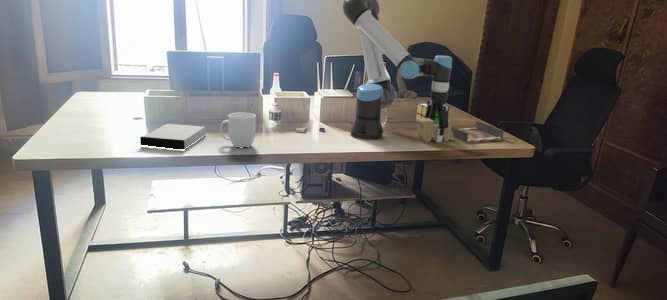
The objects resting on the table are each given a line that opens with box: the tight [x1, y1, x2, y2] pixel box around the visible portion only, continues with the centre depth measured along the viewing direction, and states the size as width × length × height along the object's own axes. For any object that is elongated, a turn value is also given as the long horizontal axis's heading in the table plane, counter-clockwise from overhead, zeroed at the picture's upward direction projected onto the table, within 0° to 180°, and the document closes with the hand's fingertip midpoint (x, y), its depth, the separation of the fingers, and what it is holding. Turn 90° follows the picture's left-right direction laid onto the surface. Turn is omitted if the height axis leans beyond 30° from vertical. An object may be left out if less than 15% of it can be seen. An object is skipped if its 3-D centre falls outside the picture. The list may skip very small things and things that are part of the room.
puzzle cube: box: [415, 103, 442, 123], centre depth 241 cm, size 10×10×10 cm
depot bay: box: [450, 120, 504, 145], centre depth 220 cm, size 22×18×5 cm
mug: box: [219, 111, 257, 148], centre depth 186 cm, size 15×11×13 cm
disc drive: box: [139, 123, 206, 149], centre depth 188 cm, size 18×22×5 cm
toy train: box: [416, 118, 454, 143], centre depth 211 cm, size 6×17×10 cm, turn 106°
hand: (433, 139), depth 212 cm, fingers open, 8 cm apart
